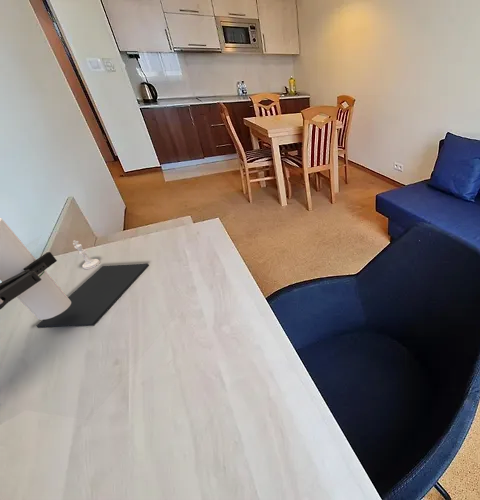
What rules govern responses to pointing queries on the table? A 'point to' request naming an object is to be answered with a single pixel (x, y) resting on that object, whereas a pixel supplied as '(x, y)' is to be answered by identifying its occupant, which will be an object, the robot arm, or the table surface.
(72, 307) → the mat
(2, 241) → the cylindrical container
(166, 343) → the table surface
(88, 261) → the chess piece
